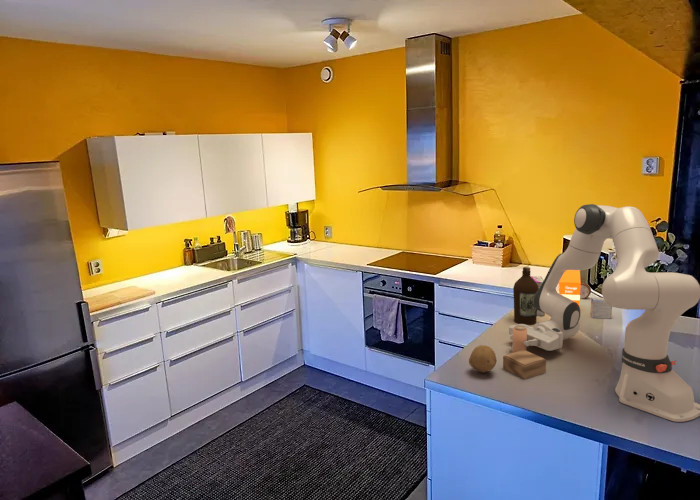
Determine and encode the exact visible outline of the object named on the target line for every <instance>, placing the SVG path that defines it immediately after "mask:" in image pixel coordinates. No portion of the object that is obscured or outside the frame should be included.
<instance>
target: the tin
mask: <svg viewBox="0 0 700 500" xmlns="http://www.w3.org/2000/svg"><path fill="white" fill-rule="evenodd" d="M580 283H581V284H580V300H584V299H587V298H589V296H590V295H591V293H592V289H591V286H590V285H589V284H588V283H586V282H581V281H580Z"/></svg>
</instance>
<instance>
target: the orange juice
mask: <svg viewBox="0 0 700 500" xmlns="http://www.w3.org/2000/svg"><path fill="white" fill-rule="evenodd" d="M580 282H581V270H567V271H566V272H564V274H563V275H562V277H561V279H560V281H559V283H558V285H557V293H559V294H561V295H563V296H565V297H567V298H569V299H571V300H572V301H574V302H576V303H577V304H578V305H579V306H580V303H581V302H580V300H581V299H580V284H581V283H580Z"/></svg>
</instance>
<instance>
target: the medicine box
mask: <svg viewBox="0 0 700 500" xmlns="http://www.w3.org/2000/svg"><path fill="white" fill-rule="evenodd" d="M612 313H613V307H611V306H610V305H608V304H607V303H606V301H605V300H604V298H603V297H590V313H589V314H590V317H591V318H592V319H604V320H605V319H607V320H611V319H612Z"/></svg>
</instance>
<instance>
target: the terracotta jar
mask: <svg viewBox="0 0 700 500" xmlns="http://www.w3.org/2000/svg"><path fill="white" fill-rule="evenodd" d="M516 325H517V324H516ZM524 340H527V329H526V328H525V327H524V326H521V325H517V326H515V327H514V328H513V340H512V349H511V350H512V352H511V353H515V352H518V351H521V350H526V351H527V347H528V346H525V345H523V341H524Z"/></svg>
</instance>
